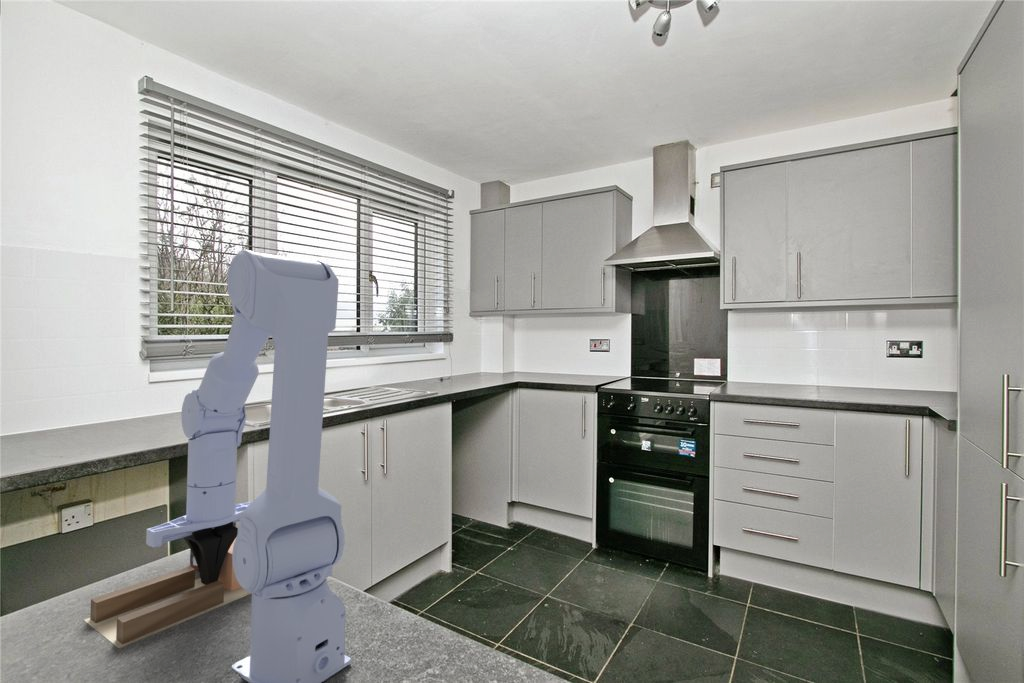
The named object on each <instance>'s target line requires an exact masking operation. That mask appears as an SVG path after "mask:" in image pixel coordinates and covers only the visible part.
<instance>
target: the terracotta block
mask: <svg viewBox="0 0 1024 683" xmlns="http://www.w3.org/2000/svg"><path fill="white" fill-rule="evenodd" d="M234 542H235V540H234V541H233V543H232V545H231V547H230V548H229V550H228V552H227V555H226V557H225V559H224V562H223V565H222V568H221V571H220V574H219V578H218V581H219V582H221V583H223V584H224V588H225V589H227V590H229V591H234V590H236V589H239V588H241V586H240V585H239V583H238V581H237V579H236V576H235V573H234V568H233V559H232V554H233V545H234Z"/></svg>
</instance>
